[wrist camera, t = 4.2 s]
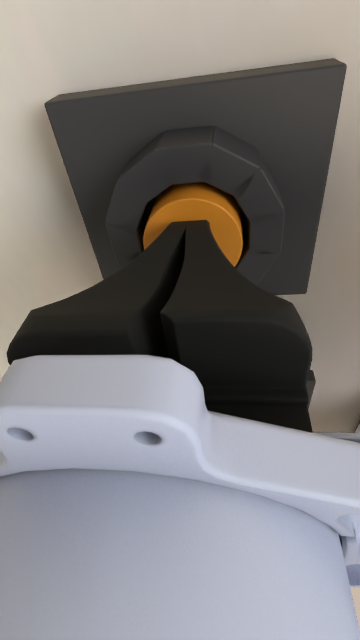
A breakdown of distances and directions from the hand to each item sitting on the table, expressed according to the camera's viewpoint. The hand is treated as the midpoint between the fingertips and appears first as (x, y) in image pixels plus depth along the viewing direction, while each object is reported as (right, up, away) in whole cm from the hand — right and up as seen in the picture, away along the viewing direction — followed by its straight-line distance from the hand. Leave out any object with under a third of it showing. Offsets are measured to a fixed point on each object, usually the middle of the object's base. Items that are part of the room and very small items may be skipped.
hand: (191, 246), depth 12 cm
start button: (0, +1, +1) cm, 2 cm away
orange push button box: (0, +3, +3) cm, 4 cm away
